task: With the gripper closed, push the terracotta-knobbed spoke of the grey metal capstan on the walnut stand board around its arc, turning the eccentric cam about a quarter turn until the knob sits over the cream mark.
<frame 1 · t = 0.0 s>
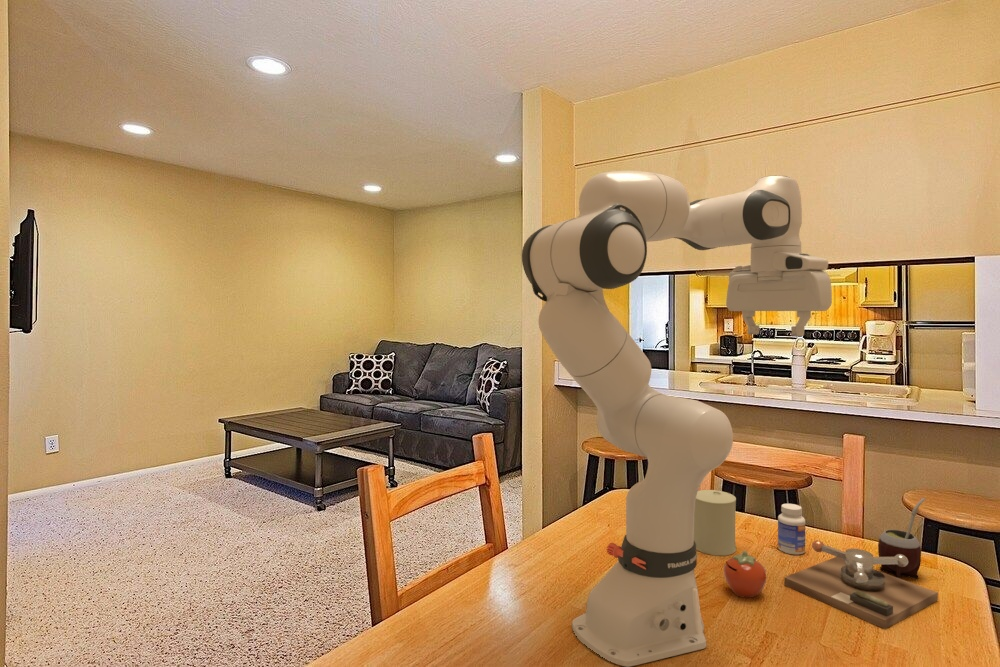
hand: (774, 335, 112), 48 cm above the table, fingers open, 8 cm apart
tomato: (744, 593, 109), on the table
mate gourd: (900, 574, 116), on the table
pill bottle: (791, 551, 127), on the table
stand board: (858, 592, 108), on the table
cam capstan: (848, 564, 110), point 5 cm above the table, hinge at 0.0°
can: (713, 547, 130), on the table
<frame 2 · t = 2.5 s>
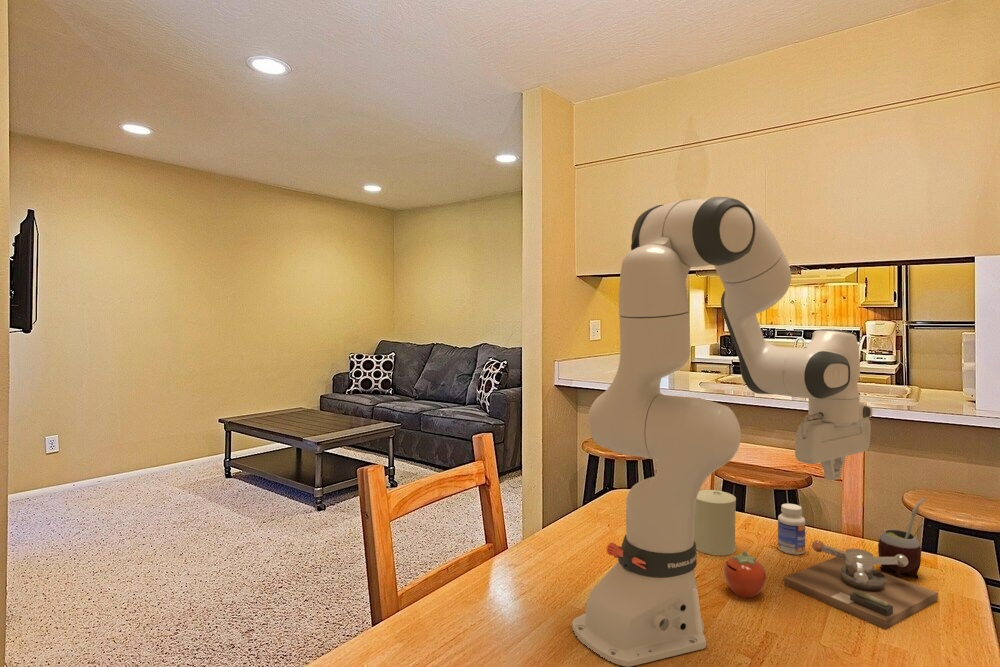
hand: (832, 478, 117), 19 cm above the table, fingers closed
nothing on the table moved.
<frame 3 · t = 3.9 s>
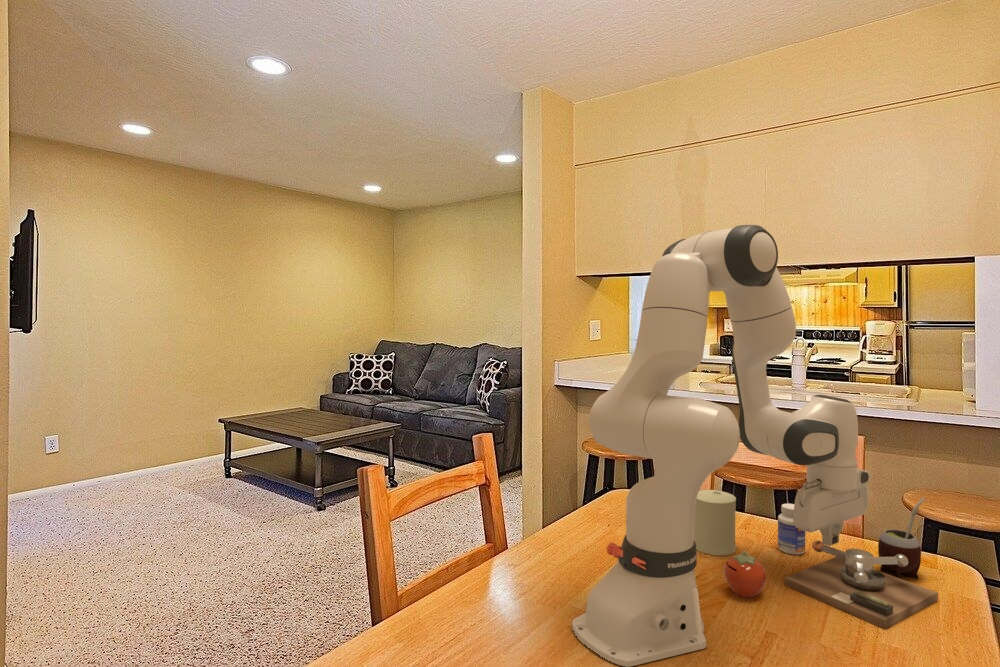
hand: (830, 543, 117), 6 cm above the table, fingers closed
nothing on the table moved.
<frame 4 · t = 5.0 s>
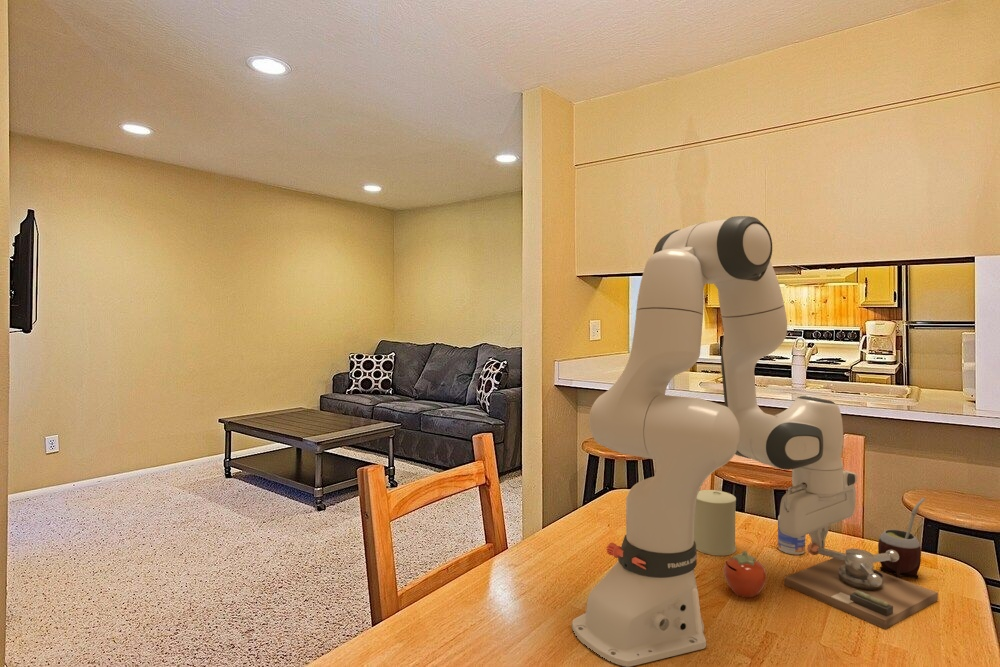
hand: (818, 547, 115), 6 cm above the table, fingers closed, pressing on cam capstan
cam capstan: (847, 565, 110), point 5 cm above the table, hinge at 15.1°, touching gripper
everything else where it was.
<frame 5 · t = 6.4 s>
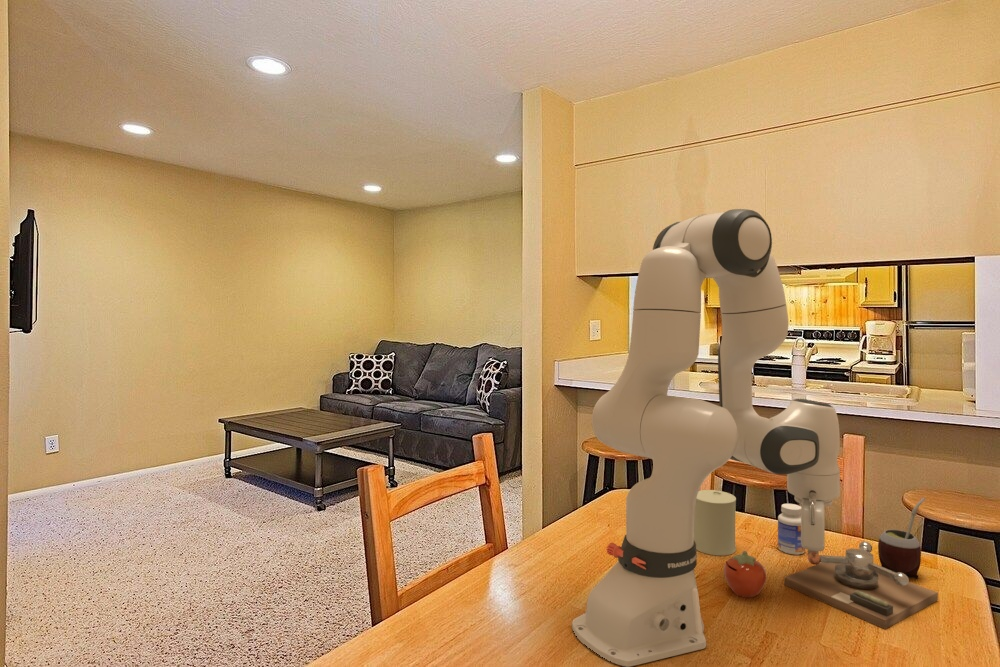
hand: (813, 555, 111), 6 cm above the table, fingers closed, pressing on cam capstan
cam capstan: (847, 567, 109), point 5 cm above the table, hinge at 50.4°, touching gripper
everything else where it was.
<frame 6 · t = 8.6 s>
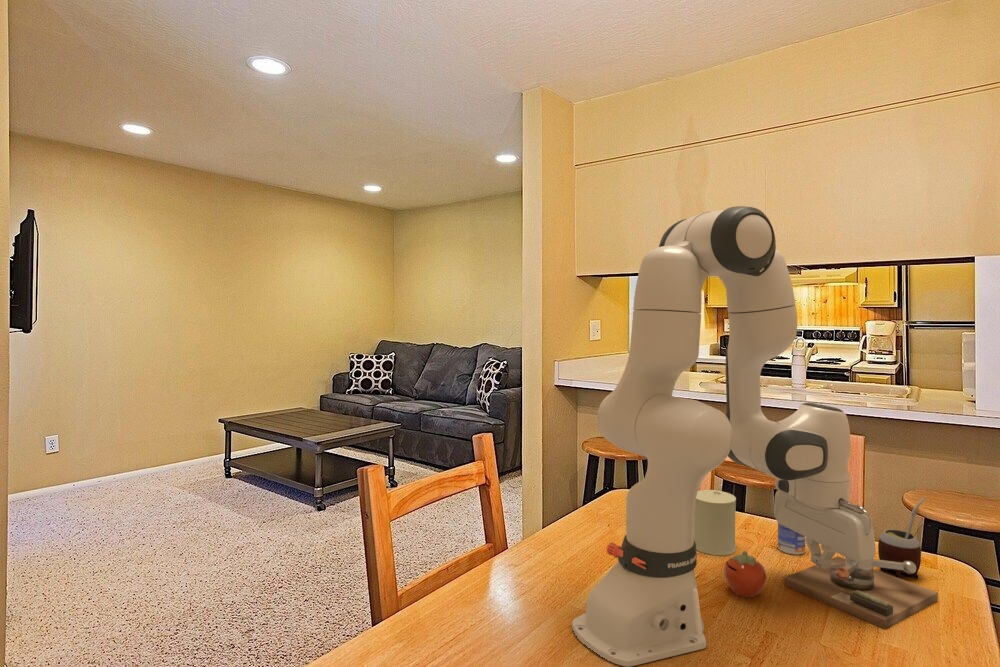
hand: (820, 565, 107), 6 cm above the table, fingers closed
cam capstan: (855, 571, 107), point 5 cm above the table, hinge at 98.9°
everything else where it was.
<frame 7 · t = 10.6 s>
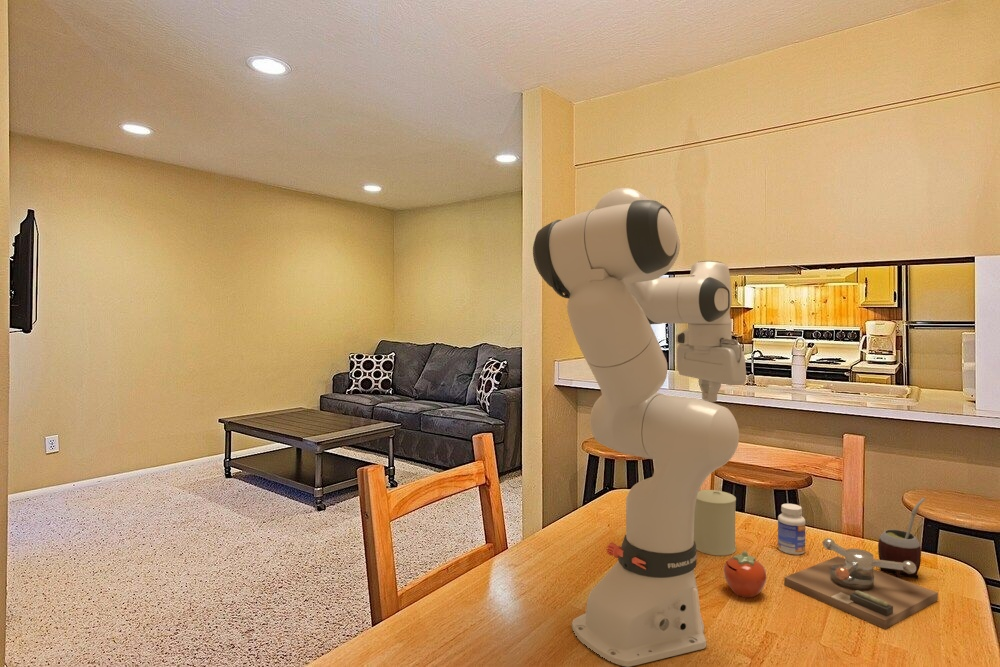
hand: (709, 400, 126), 33 cm above the table, fingers closed
nothing on the table moved.
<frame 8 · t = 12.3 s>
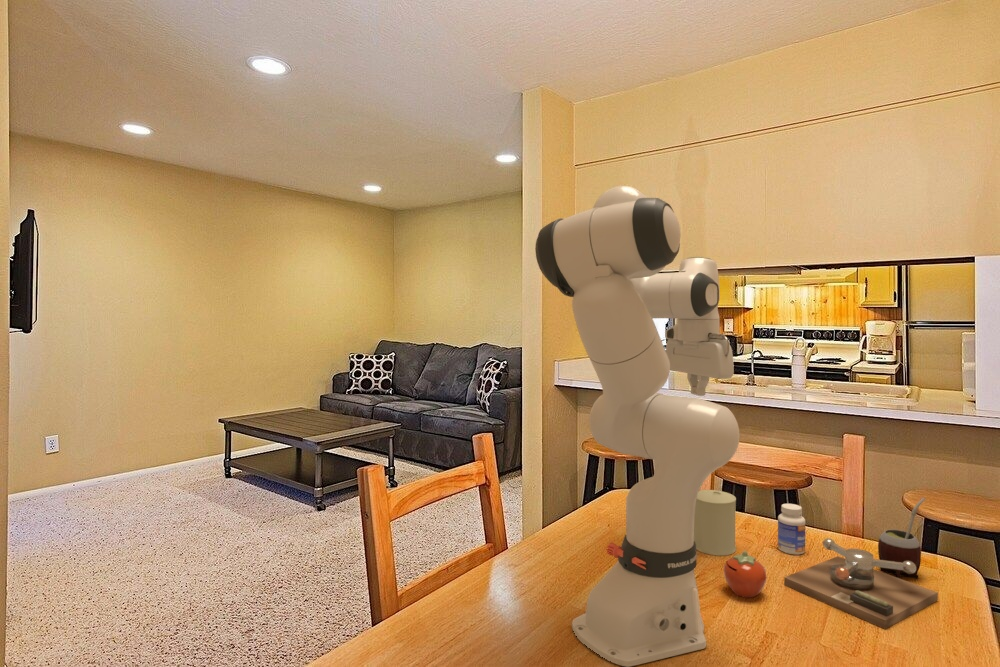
hand: (698, 394, 128), 34 cm above the table, fingers closed
nothing on the table moved.
at the end: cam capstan at +99° (first picture: +0°) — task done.
